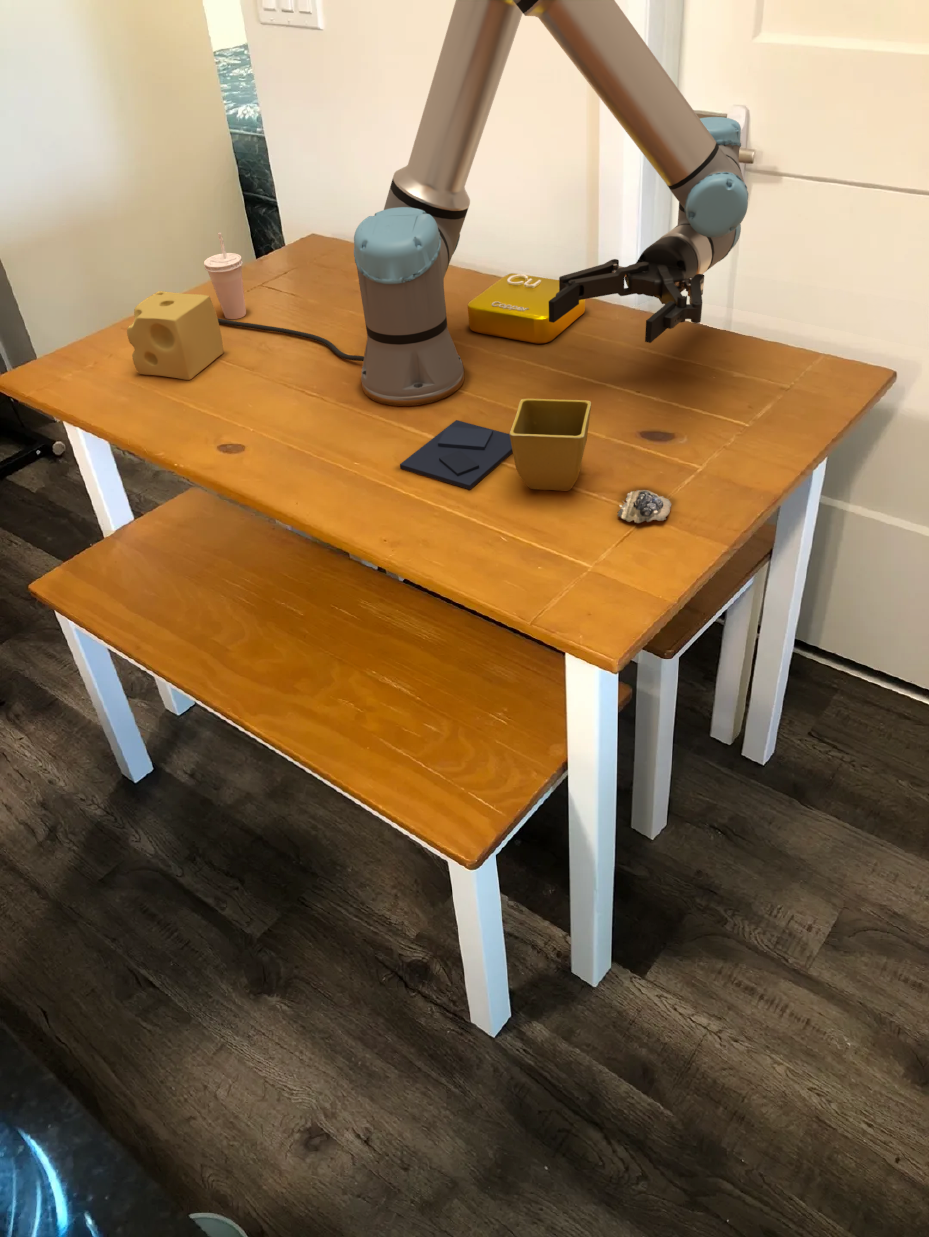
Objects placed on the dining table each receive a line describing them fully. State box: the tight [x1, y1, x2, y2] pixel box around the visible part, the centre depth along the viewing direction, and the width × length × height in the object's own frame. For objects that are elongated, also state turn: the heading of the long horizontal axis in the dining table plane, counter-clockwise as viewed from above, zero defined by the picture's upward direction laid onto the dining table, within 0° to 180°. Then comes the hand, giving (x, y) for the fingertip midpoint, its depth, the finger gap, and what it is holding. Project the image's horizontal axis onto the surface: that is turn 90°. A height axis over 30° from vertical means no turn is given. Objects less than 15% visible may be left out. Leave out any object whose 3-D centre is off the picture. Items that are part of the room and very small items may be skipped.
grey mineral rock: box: [616, 489, 672, 524], centre depth 116 cm, size 7×8×2 cm
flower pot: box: [509, 398, 592, 492], centre depth 120 cm, size 9×9×9 cm
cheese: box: [126, 290, 224, 381], centre depth 155 cm, size 10×11×10 cm
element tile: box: [467, 272, 586, 345], centre depth 159 cm, size 15×15×5 cm
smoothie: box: [203, 232, 247, 320], centre depth 167 cm, size 6×6×14 cm
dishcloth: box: [399, 419, 513, 490], centre depth 129 cm, size 11×13×1 cm
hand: (598, 321), depth 122 cm, fingers open, 13 cm apart
